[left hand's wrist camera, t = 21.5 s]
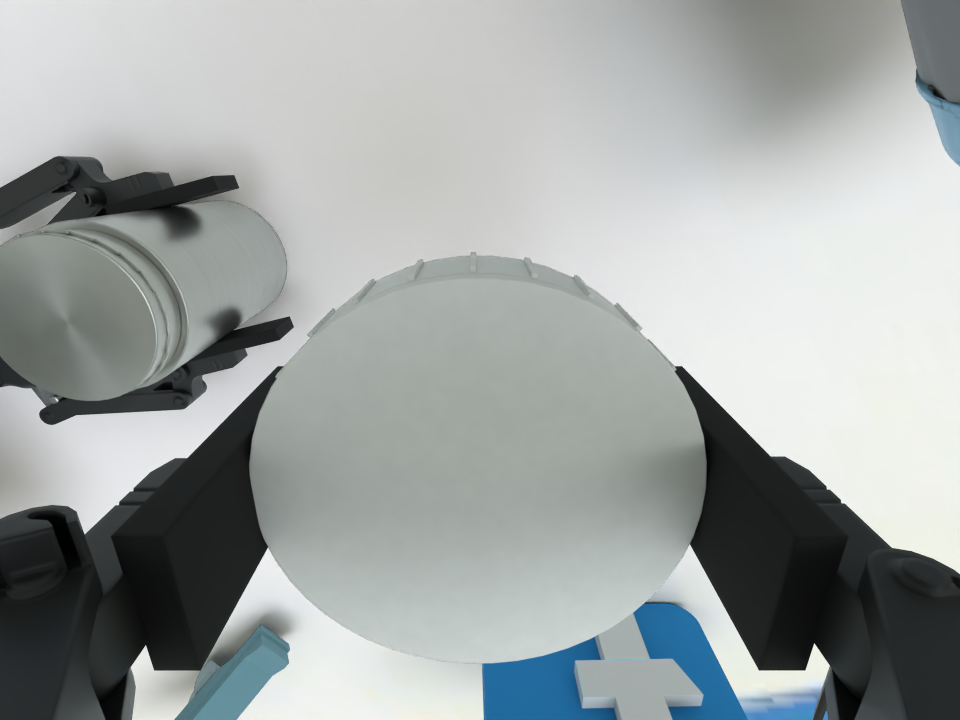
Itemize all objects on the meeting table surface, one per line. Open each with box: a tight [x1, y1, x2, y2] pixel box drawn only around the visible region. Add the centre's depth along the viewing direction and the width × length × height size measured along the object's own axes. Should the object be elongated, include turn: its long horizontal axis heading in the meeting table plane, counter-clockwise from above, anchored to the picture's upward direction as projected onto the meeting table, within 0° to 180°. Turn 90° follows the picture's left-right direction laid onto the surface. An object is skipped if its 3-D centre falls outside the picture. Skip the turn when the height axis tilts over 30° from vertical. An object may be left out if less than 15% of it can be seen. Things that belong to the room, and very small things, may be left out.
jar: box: [0, 201, 287, 401], centre depth 30 cm, size 8×8×16 cm
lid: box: [249, 252, 707, 663], centre depth 11 cm, size 9×9×2 cm
